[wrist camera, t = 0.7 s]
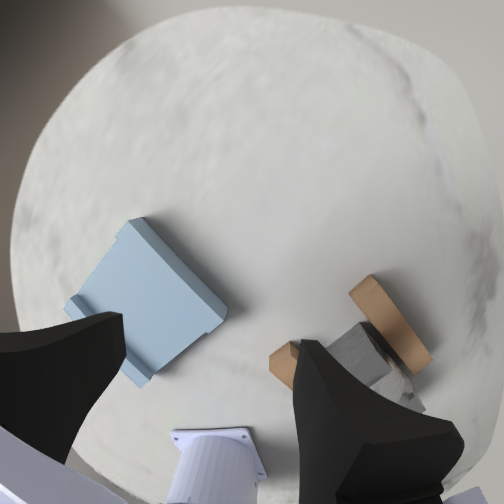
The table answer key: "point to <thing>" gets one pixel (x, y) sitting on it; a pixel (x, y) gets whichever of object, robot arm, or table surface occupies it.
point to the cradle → (148, 299)
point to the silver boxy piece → (374, 367)
